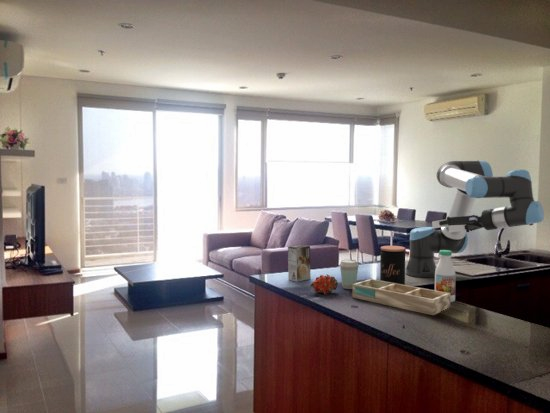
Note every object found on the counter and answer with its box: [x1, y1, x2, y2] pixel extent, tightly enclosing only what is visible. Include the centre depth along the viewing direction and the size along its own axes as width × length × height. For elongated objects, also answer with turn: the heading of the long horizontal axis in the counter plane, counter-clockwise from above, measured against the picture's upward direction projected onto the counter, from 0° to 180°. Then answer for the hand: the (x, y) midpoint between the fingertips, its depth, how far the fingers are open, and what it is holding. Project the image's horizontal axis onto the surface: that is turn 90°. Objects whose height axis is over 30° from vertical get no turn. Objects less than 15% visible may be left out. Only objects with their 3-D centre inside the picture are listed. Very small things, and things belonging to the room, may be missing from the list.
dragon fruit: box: [310, 274, 339, 295], centre depth 202 cm, size 8×8×12 cm
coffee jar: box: [379, 245, 406, 285], centre depth 210 cm, size 11×11×18 cm
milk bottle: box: [434, 250, 456, 303], centre depth 189 cm, size 8×8×20 cm
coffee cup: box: [339, 258, 360, 290], centre depth 211 cm, size 8×8×12 cm
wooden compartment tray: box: [351, 278, 451, 316], centre depth 187 cm, size 14×35×6 cm, turn 45°
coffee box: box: [287, 244, 311, 282], centre depth 228 cm, size 9×6×16 cm
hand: (441, 227), depth 189 cm, fingers open, 13 cm apart
